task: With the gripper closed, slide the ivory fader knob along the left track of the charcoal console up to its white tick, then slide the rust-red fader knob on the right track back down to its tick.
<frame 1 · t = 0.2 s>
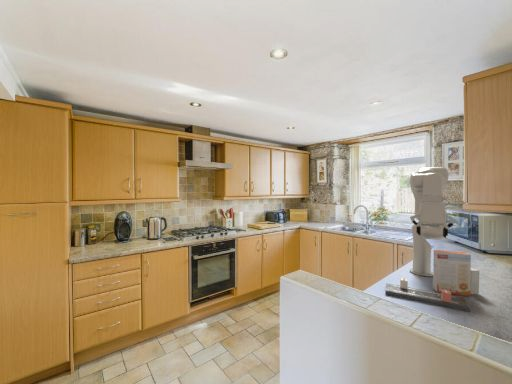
hand: (431, 235, 112), 31 cm above the counter, fingers open, 9 cm apart
rust fader: (446, 295, 108), point 4 cm above the counter, slide at 18.0 cm
ivory fader: (403, 283, 122), point 4 cm above the counter, slide at 2.0 cm
console: (423, 297, 115), on the counter
cracker box: (450, 292, 122), on the counter
skincare box: (469, 291, 124), on the counter
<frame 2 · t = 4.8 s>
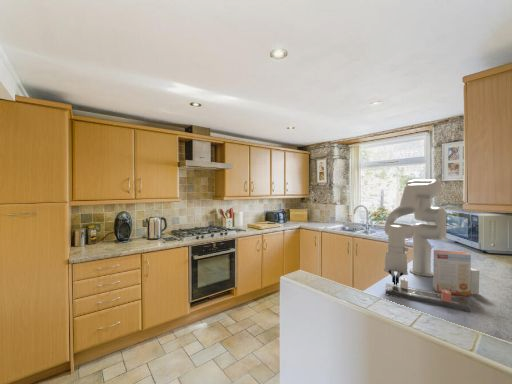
hand: (395, 284, 124), 3 cm above the counter, fingers closed
ivory fader: (404, 283, 122), point 4 cm above the counter, slide at 2.1 cm, touching gripper
everything else where it was.
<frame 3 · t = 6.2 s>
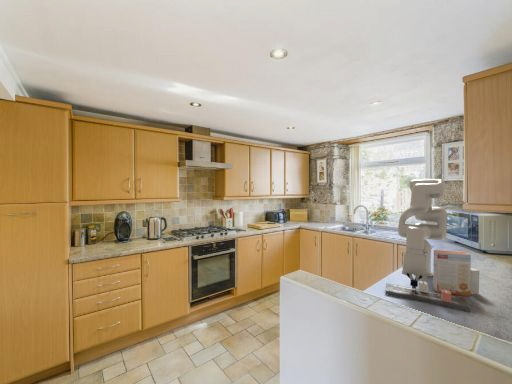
hand: (413, 287, 120), 3 cm above the counter, fingers closed
ivory fader: (423, 286, 118), point 4 cm above the counter, slide at 10.2 cm, touching gripper
everything else where it was.
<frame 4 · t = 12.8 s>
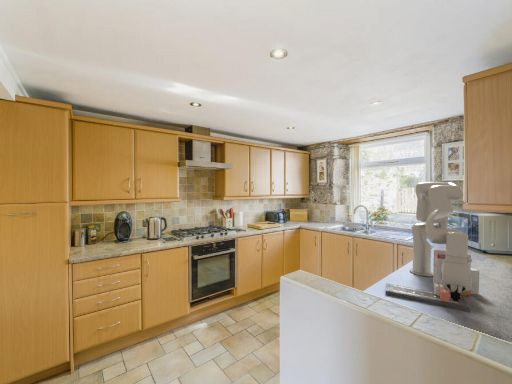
hand: (455, 300, 107), 3 cm above the counter, fingers closed
rust fader: (444, 295, 108), point 4 cm above the counter, slide at 17.5 cm, touching gripper
ivory fader: (438, 289, 115), point 4 cm above the counter, slide at 16.3 cm
everything else where it was.
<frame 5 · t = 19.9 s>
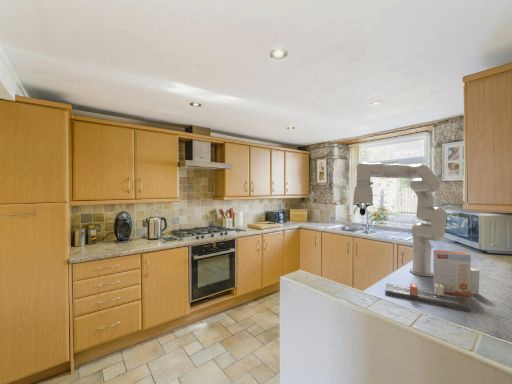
hand: (362, 215, 140), 37 cm above the counter, fingers closed
rust fader: (413, 289, 114), point 4 cm above the counter, slide at 5.7 cm
everything else where it was.
at the end: ivory fader slide at 16.3 cm; rust fader slide at 5.7 cm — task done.
